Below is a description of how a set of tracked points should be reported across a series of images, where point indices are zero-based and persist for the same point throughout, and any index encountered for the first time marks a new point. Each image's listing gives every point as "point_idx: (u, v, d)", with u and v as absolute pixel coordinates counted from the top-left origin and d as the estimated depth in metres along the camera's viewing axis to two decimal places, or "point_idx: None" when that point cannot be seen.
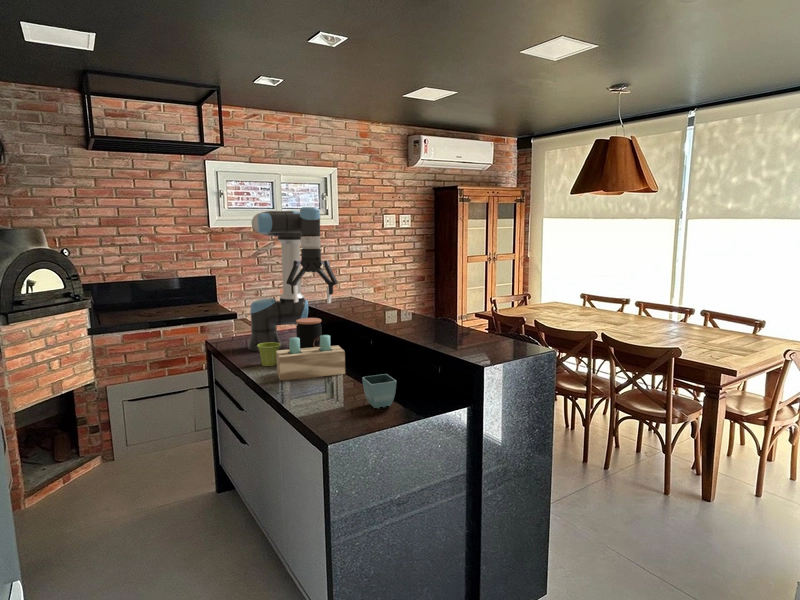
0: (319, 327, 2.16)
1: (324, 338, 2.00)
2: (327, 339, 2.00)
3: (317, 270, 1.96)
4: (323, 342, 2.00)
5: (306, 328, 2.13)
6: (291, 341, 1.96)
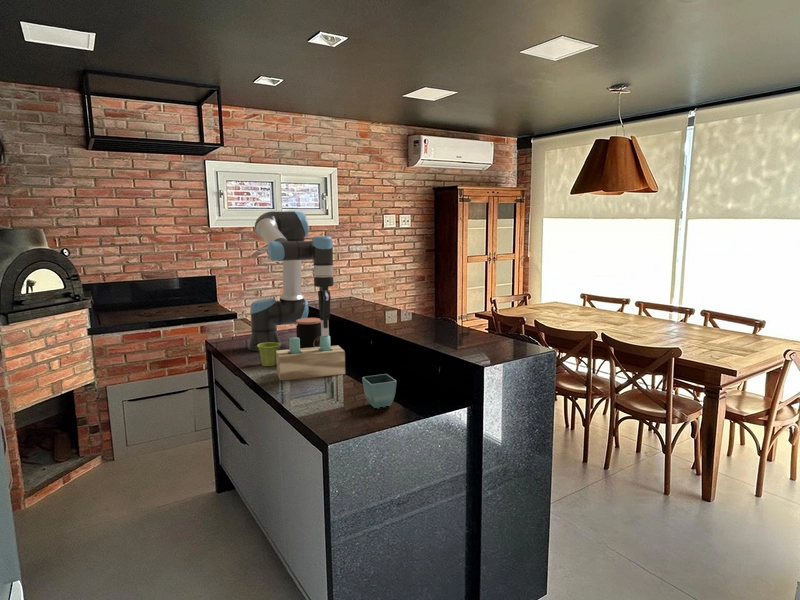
0: (319, 327, 2.16)
1: (324, 338, 2.00)
2: (327, 339, 2.00)
3: (320, 300, 1.98)
4: (323, 342, 2.00)
5: (306, 328, 2.13)
6: (291, 341, 1.96)
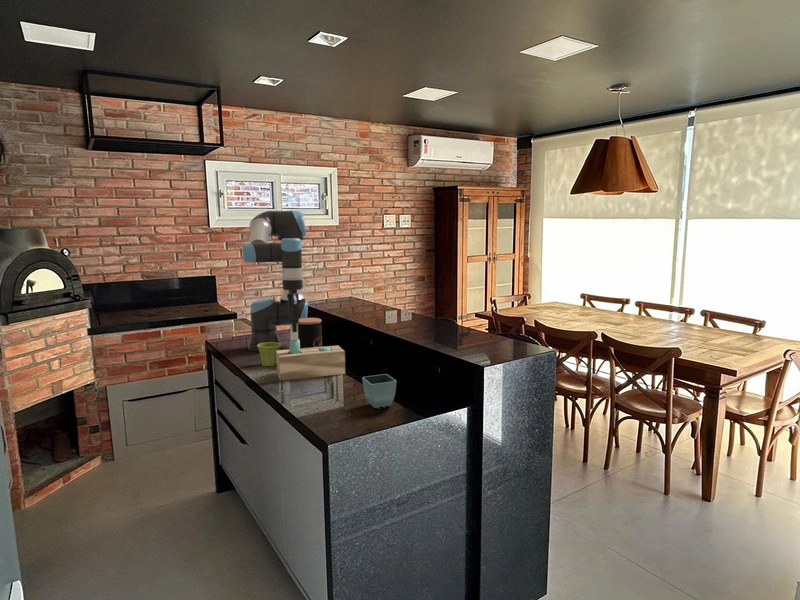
0: (319, 327, 2.16)
1: (324, 350, 2.01)
2: None
3: (289, 303, 1.94)
4: None
5: (306, 328, 2.13)
6: (291, 343, 1.96)
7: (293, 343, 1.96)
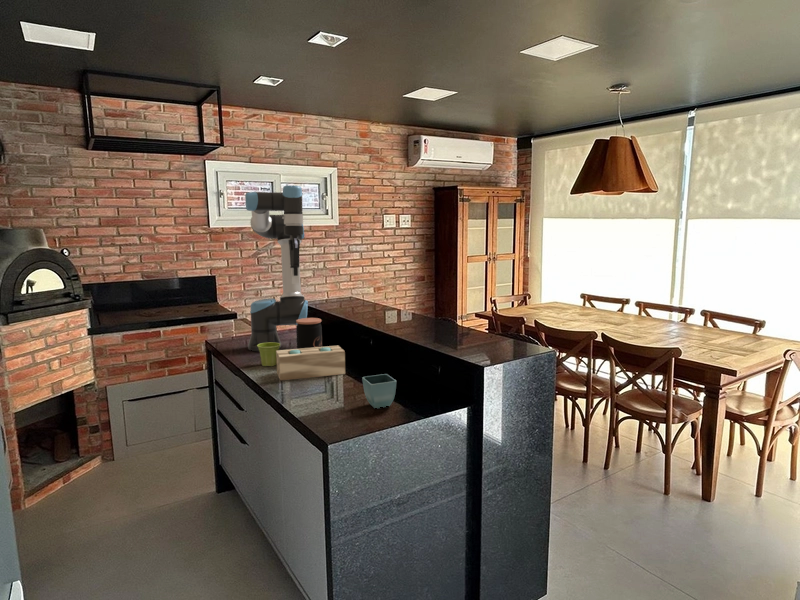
0: (319, 327, 2.16)
1: (324, 350, 2.01)
2: None
3: (290, 248, 2.04)
4: None
5: (306, 328, 2.13)
6: None
7: None
